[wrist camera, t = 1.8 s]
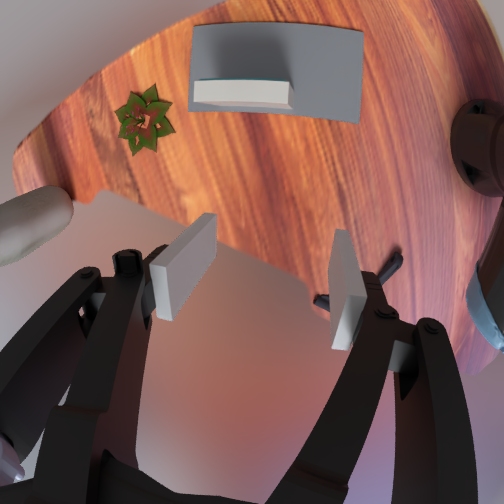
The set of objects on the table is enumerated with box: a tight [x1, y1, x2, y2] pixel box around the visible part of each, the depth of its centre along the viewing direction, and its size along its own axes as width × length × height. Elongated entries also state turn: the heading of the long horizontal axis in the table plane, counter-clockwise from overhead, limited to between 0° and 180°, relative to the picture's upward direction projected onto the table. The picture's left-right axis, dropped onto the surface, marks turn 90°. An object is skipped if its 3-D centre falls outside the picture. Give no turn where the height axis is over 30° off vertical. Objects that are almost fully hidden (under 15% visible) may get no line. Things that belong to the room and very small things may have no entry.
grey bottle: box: [0, 186, 73, 267], centre depth 37 cm, size 10×10×28 cm
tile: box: [194, 78, 294, 109], centre depth 30 cm, size 10×3×10 cm, turn 87°
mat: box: [188, 22, 364, 124], centre depth 32 cm, size 24×14×1 cm, turn 87°
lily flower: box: [114, 85, 176, 156], centre depth 38 cm, size 12×12×5 cm
